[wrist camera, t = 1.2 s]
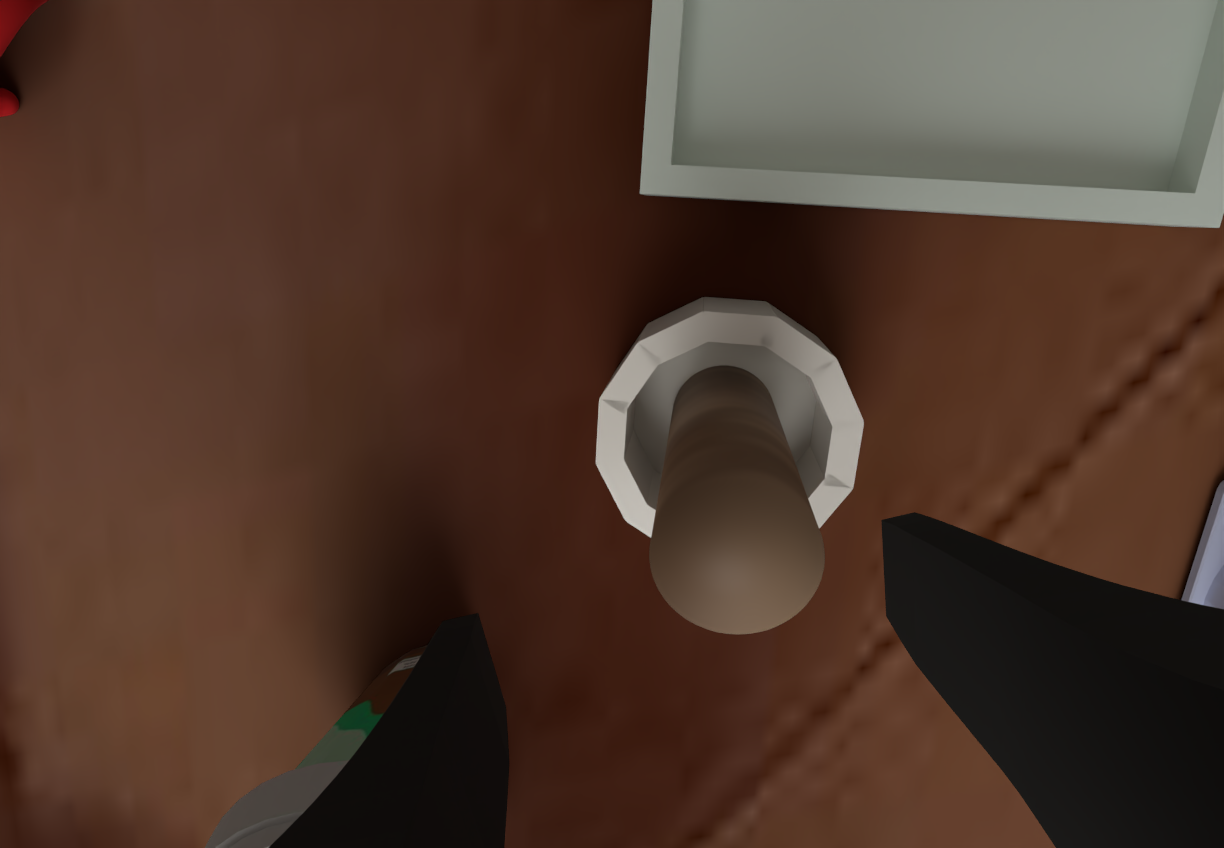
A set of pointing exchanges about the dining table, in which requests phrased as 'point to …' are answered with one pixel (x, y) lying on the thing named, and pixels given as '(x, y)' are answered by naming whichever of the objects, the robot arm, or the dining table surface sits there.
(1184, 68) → the tray
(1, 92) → the red helmet
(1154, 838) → the robot arm
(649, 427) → the cup
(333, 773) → the food container
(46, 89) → the dining table surface
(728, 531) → the dowel
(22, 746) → the dining table surface
